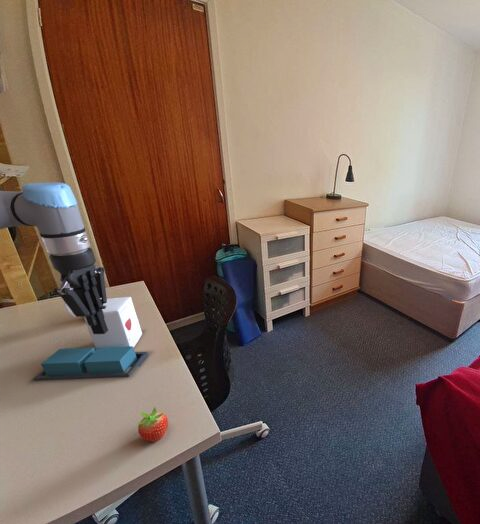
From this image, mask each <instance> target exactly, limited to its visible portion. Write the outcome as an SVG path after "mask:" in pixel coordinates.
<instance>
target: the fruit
mask: <svg viewBox="0 0 480 524" xmlns="http://www.w3.org/2000/svg"><path fill="white" fill-rule="evenodd" d="M141 416H142V419H141V421H140V422H138V423H136V424H137V425H138V427H137V430H138V434H139V436H140V437H141V438H142V439H143V440H145V441H147V442H157V441H160V440H161V439H163V438H164V436H165V434H166V433H167V431H168V427H169V419H168V416H167V415H166V414H165V413H162V412H157V409H156V406H154V407H153V409H152V410H151V413H147V412H146V413H145V412H143V411H141Z"/></svg>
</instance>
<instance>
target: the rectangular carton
mask: <svg viewBox="0 0 480 524" xmlns="http://www.w3.org/2000/svg"><path fill="white" fill-rule="evenodd" d="M103 306H106V308H105V309H102V311H103V313H104V316H105V318H104V320H105V322H106V325H107V328H108V331H107V332H106V333H105V334H93V331H92V329H91V326H89V325H88V322H87V320H86V317H83V319H84V322H85V325H86V326H87V329H88V332H89V335H90V338H91V339H92V342H93V344H94V348H95V351H96V350H97V349H98V348H100V347H125V346H133V348H135V346H136V345H137V344H138V342H139V341H140V338H141V337H142V335H143V332H142V329H141V324H140V323H139V322H140V321H139V318H138V315H137V313H136V309H135V305H134V303H133V299H132V297H131V296H124V297H114V298H107V302H106V303H105V304H103Z"/></svg>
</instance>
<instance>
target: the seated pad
mask: <svg viewBox="0 0 480 524" xmlns="http://www.w3.org/2000/svg"><path fill="white" fill-rule="evenodd" d="M95 351H96V348H95V347H72V348H71V347H69V348H59V349H58V350H56V351H55V352H54V353H53V354H51V355H50V356H49V357H48V358H46V359H45V360H44V361H42V362H41V363H40V365H41V367H42V369H43V370H44V371H45V373H46V374H45V376H59V375H83V374H86V372H88V371H87V369H86V367H85V364H84V362H85V361H86V360H87V359H88V358H89V357H90V356H91V355H92V354H93V353H94V352H95Z"/></svg>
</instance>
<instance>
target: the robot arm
mask: <svg viewBox="0 0 480 524" xmlns="http://www.w3.org/2000/svg"><path fill="white" fill-rule="evenodd" d="M78 204H79V203H78V200H77V199H76V197H75V195H74V192H73V190H72V188H71V186H69V184H67V183H64V182H57V181H55V182H54V181H52V182H48V181H47V182H32V183H25V184H24V185H22V186H21V191H11V190H0V230H4V229H8V228H13V227H36V228H37V230H38V232H39V236H40V238H41V240H42V243H43V246H44V248H45V251H46V252H47V254H49V256H48V257H49V258H48V259H49V260H50V262H51V265H52V267H53V269H54V270H55V271H57V272H58V273H59V274H60V276H59V279H60V280H59V281H60V282H61V283H60V285H59V287H54V288H53V293H54V294H56V295H58V296H60V297H61V299H62V301H64V304H65V303H66V304H67V305H68V307H69V308H70V309H71V311H72V312H73V313H74V315H75V316H76V317H75V318H84V317H86V320H87V322H88V325H89V326H91V329H92V331H93V334H105V333H106V332H107V331H108V328H107V325H106V322H105V320H104V318H105V316H104V313H103V311H102V309H105V308H106V306H103V304H105V303H106V302H107V299H108V297H107V291H106V283H105V270H106V269H105V267H104V266H100V267H99V266H96V265H95V264H96V262H97V260H96V256H95V253H94V250H93V248H91V243H90V240H89V236H88V233H87V231H86V227H85V224H84V222H83V218H82V215H81V211H80V208H79V205H78ZM100 298H101V299H100Z"/></svg>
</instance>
